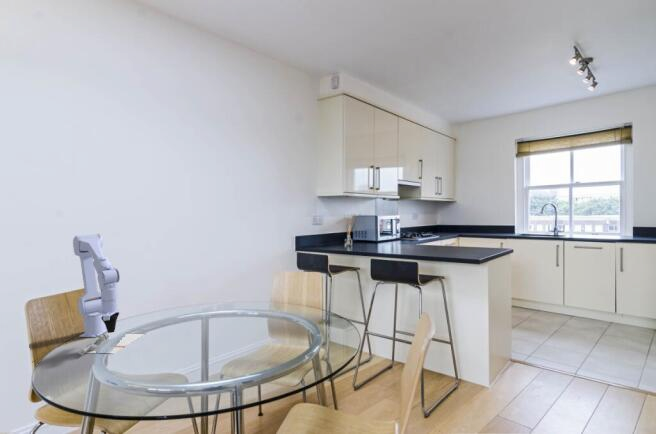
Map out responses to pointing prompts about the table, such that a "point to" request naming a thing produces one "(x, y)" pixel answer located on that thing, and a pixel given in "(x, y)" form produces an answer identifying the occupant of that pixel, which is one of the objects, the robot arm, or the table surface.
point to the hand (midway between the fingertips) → (111, 332)
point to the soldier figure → (95, 345)
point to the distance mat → (123, 342)
